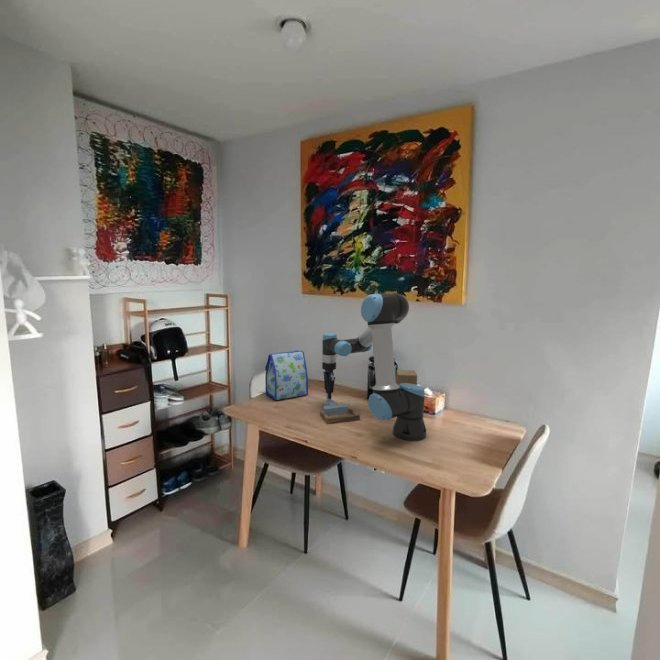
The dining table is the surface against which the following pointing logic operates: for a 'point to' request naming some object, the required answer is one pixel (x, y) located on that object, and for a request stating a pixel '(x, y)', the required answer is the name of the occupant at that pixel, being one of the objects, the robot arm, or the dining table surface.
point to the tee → (334, 408)
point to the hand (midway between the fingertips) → (328, 403)
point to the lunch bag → (286, 375)
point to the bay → (341, 417)
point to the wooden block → (406, 377)
